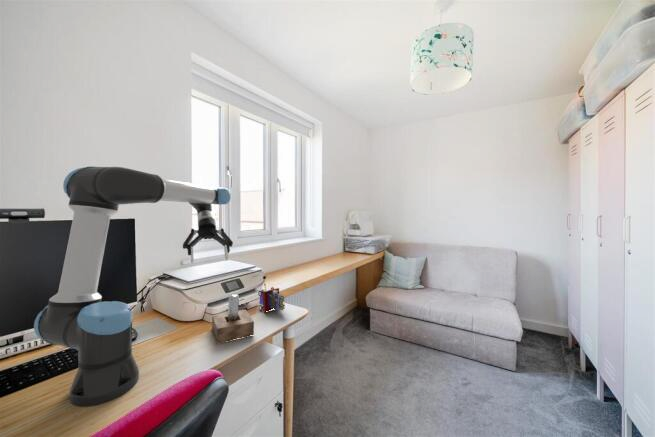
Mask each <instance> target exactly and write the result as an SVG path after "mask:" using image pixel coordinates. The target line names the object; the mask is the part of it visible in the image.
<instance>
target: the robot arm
mask: <svg viewBox="0 0 655 437" xmlns="http://www.w3.org/2000/svg"><path fill="white" fill-rule="evenodd" d="M62 186H63V187H62V188H63V192H64V193H65V194H66V196H67V198H69V201H68V207H69V208H70V209H71V210H72V211H73V216H72V217H73V218H72V222H71V227H70V232H69V236H68V237H69V238H68V242H67V246H66V247H67V248H66V252H65V256H64V262H63V266H62V270H61V271H62V273H61V277H60V281H59V287H58V291H57V293H55V294H54V295H53V296H51V297H50V298H49V299H48V304H47V305H46V306H45V307H44V308H43V310H41V311H40V312H38V314H37V316H36V318H35V320H34V323H33V330H34V333H35V335H36V336H37V338H39V339H40V340H41V341H43V342H45V343H48V344H49V345H54V346H59V347H60V346H61V347H65V348H70V349H74V350H77V351H78V352H77V355H78V356H77V357H78V359H77V360H78V368H77V371H76V373H75V376H74V379H73V380H72V383H71V386H70V389H69V402H70V403H71V404H72V405H74V406H77V407H88V406H89V407H91V406H96V405H99V404H104V403H106V402H109V401H111V400H114V399H115V398H116V399H117V398H118V397H120V396H123V395H124V394H125V393H127V392H129V391H130V390H131V389H133V387H134V386H136V384H137V383H138V381H139V377H140V369H139V367H138V365H137V362H136V360H135V357H134V356H133V320H134V319H133V318H134V317H133V313H132V312H133V311H132V308H131V306H130V305H129V304H128V303H125V302H123V301H117V300H112V301H110V300H109V301H102V299H103V296H102V294H101V293H100V292H98V287H99V281H100V277H101V272H102V271H101V270H102V266H103V265H102V264H103V259H104V255H105V248H106V243H107V236H108V231H109V226H110V220H111V217H112V216H113V215H114V214H116V213H118V211H119V206H120V205H132V204H133V205H135V204H156V203H158V202H160V201H163V202H164V201H165V202H178V203H188V204H189V205H191V206H192V207H193V208H194V209H195V210H196V211H197V213H196V214H197V215H196V216H197V229H195V228H190V233H189V235H188V236H187V238H186V239H185V241H184V242H183V243H182V249H183V250H185V249H186V250H187V255H188V256H190V263H191V264H193V263H194V260H195V259H194V247H195V246H196V245H197V244H198V243H199V242H200V241H202V240H203V239H204V240H207V239H208V240H212V239H213V240H214V241H216V242H218V243H219V244H220V245H222V246H223V247H224V248H223V252H224V258H225V261H228V259H229V254H230V252H231V249H230V247H231V248H232V247H233V243H234V242H233V241H232V239H231V238H230V237H229V236H228V235H227V234H226V232H225V230H224V229H225V228H223V227H222V228H221V229H217V225H216V218H215V217H216V216H215V208H214V205H219V206H222V205H227V204H229V203H230V202H231V192H230V190H229V188H226V187H215V186H208V185H203V184H198V183H196V184H195V183H193V182H192V181H191V182H188V181H187V182H183V181H179V180H171V179H166V178H165V179H164V178H162V177H161V176H160V175H158V174H155V173H154V174H153V173H149V172H146V171H145V172H144V171H140V170H136V169H131V168H127V167H121V166H86V167H85V166H84V167H79V168H76V169H74V170H72V171H70V172H69V173H68V174H67V175H66V176H65V178H64V180H63V185H62ZM196 234H197V236H195V235H196ZM194 236H195V237H194Z"/></svg>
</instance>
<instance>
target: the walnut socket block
mask: <svg viewBox="0 0 655 437" xmlns="http://www.w3.org/2000/svg"><path fill="white" fill-rule="evenodd" d="M211 316H212V317H211V329H212V332H213V336H214V339H215V343H216V344H217V345H219V344H218V343H220V344H224V343H227V342H226V341H229V342H231V341H230V340H233V339H237V338H242V337H247V336H250V335H254V333H255V332H254V331H255V328H254V326H255V322H254V319H253V318H252V317H251V315H250V314H249V312H248V311H247V309H240V310H239V309H238V320H236V321H231V322H228V311H227V312H221V313H217V314H212V315H211ZM247 338H248V337H247ZM242 339H243V338H242ZM233 341H234V340H233ZM223 342H224V343H223Z"/></svg>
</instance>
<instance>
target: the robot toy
mask: <svg viewBox="0 0 655 437" xmlns="http://www.w3.org/2000/svg"><path fill="white" fill-rule="evenodd" d="M262 279H263V280H264V281H266V279H267V275H263V276H262ZM263 286H264V288H265V289H264V288H262V289H260V290H261V291H260V290H258V292H257V295H258V296H259V305H258V310H259V311H263V312H264V314H267V313H266V311H269V310H271V309H273V308H274V309H277V310H279V311H284V310H285V309H286V304H285V303H284V302H285V300H286V297H285V296H284V294H282V293H280V288H279V287H278V288H275V287H273V286H272V287H271V288H270V289H269V290H267V289H266V283H264V285H263Z"/></svg>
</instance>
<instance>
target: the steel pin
mask: <svg viewBox="0 0 655 437" xmlns="http://www.w3.org/2000/svg"><path fill="white" fill-rule="evenodd" d="M239 306H240V305H239V295H238V294H232V295H231V294H230V295H228V306H227V307H228V309H227V312H228V322H231V321H236V320H238V311H239Z"/></svg>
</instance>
